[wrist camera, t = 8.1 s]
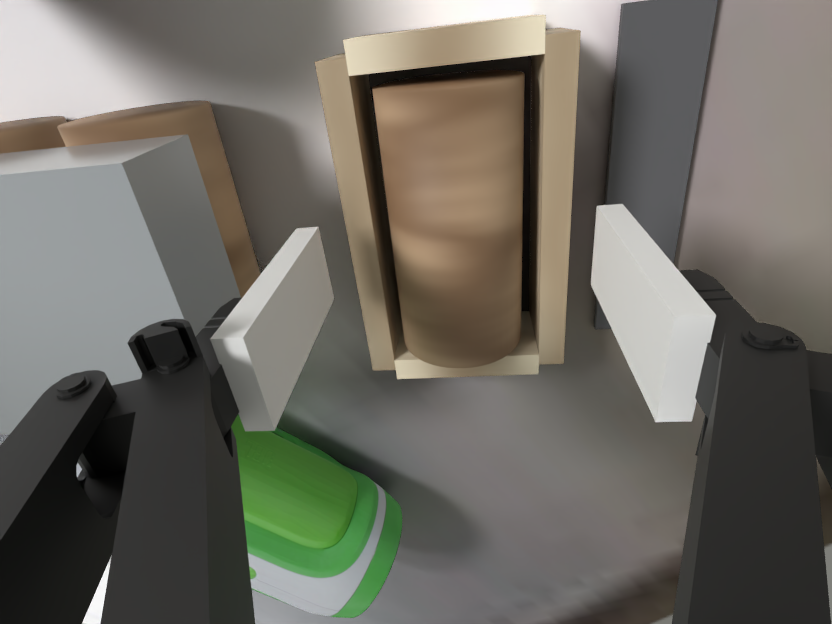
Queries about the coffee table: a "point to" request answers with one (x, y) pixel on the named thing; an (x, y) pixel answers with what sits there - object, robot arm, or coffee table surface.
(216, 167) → the roller bed
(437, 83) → the roller
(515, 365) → the open rectangular frame
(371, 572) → the speaker
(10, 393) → the slab
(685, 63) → the stop strip
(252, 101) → the coffee table surface
